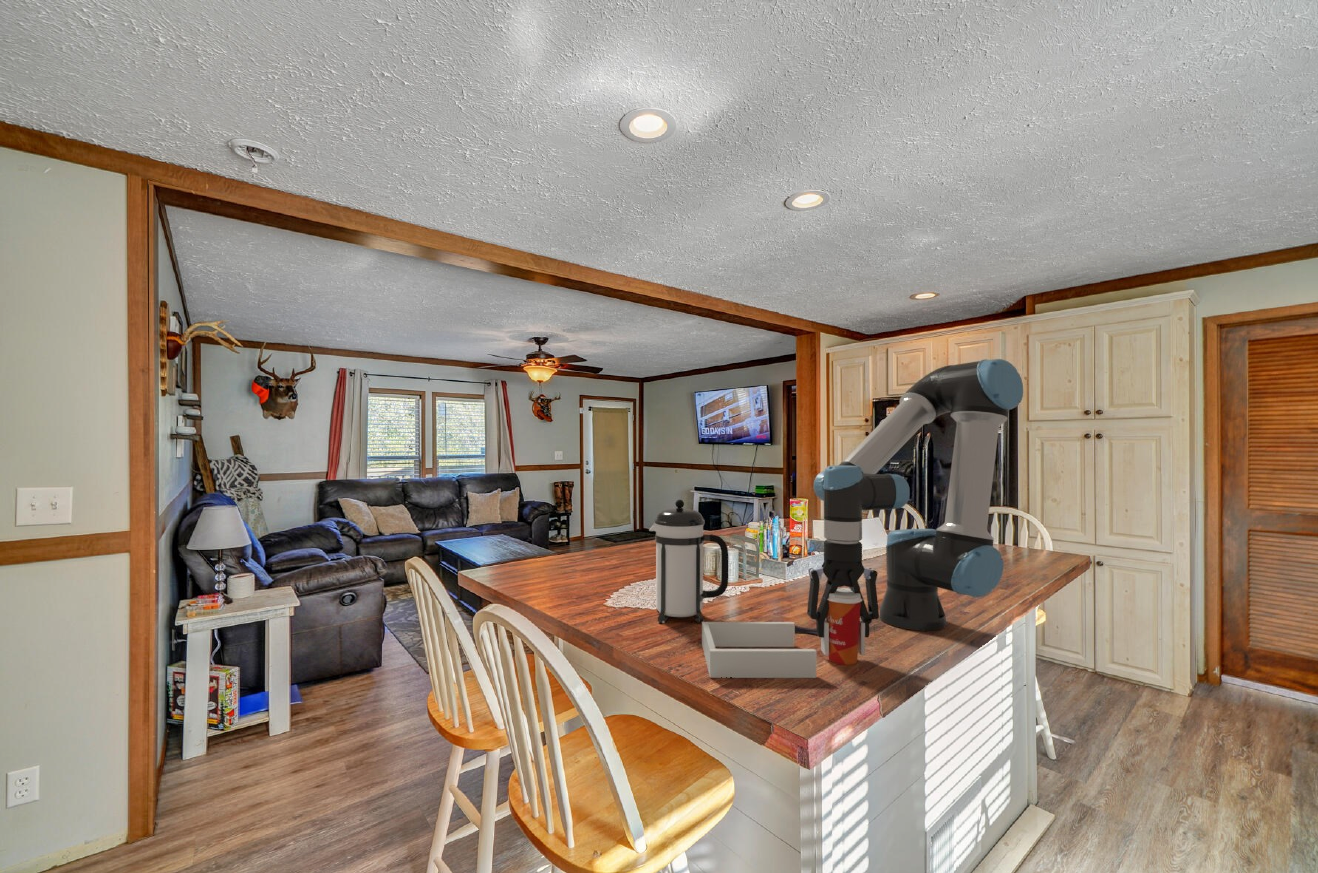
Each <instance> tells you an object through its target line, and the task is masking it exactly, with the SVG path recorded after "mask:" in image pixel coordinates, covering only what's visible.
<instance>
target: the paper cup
mask: <svg viewBox="0 0 1318 873" xmlns="http://www.w3.org/2000/svg"><path fill="white" fill-rule="evenodd" d="M827 600H829V610H828V613H827V616H826V619H825V620H826V621H827V622H828V623H829V655H827V656H828V660H829V661H830V662H831V663H834V664H837V665H840V666H841V665H842V666H853V665H855V664H857V662H858V655H859V652H858V641H859V624H860V619H861V617H860V607H861V601H862V599H861V596H860V593H854V592H853V591H851V589H850V588H849V587H847V588H846V587H838V588H837V591H836V592H835V593H830V594H829V599H827Z"/></svg>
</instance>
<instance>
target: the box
mask: <svg viewBox="0 0 1318 873" xmlns="http://www.w3.org/2000/svg"><path fill="white" fill-rule="evenodd" d="M795 624H796V623H795V622H794V621H783V622H782V621H703V622H701V646H702V649H703V654H704V658H705V663H706V667H707V670H708V675H709V678H710V679H719V678H720V679H723V678H724V679H728V678H729V679H731V678H730V677H732V679H742V678H743V679H746V678H747V679H765V678H766V679H774V678H775V679H776V678H777V679H805V678H806V679H808V678H809V679H816V678H817V650H816V649H815V648H794V647H795V644H796V643H795V641H796V640H795V639H796V638H795V637H796V636H795V634H796V632H795V626H796V625H795ZM716 647H719V648H716ZM723 647H729V648H723ZM730 647H731V648H730ZM733 647H734V648H733ZM735 647H736V648H735ZM738 647H740V648H738ZM742 647H743V648H742ZM745 647H746V648H745ZM747 647H748V648H747ZM749 647H750V648H749ZM751 647H754V648H751ZM756 647H757V648H756ZM759 647H761V648H759ZM762 647H764V648H762ZM768 647H770V648H768ZM772 647H775V648H772ZM782 647H783V648H782ZM789 647H790V648H789ZM721 677H722V678H721ZM726 677H727V678H726Z"/></svg>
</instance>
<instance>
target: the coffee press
mask: <svg viewBox="0 0 1318 873" xmlns="http://www.w3.org/2000/svg"><path fill="white" fill-rule="evenodd" d="M674 504H675V507H676V508H669V509H668V508H667V509H665V510H662V511H660V512H659V513H658V514H657V516H656V518H655V519H654V523H653V524H652V525H651V527H650V528H649V530H648V531H649V532H655V535H654V536H655V538H654V540H655V543H656V544H655V545H656V546H655V548H656V549H655V558H656V559H655V564H656V565H655V606H656V607H655V608H656V611H657V612H658V613H659V615H658V616H657V623H660V624H665V623H666V622H667V619H668V618H670V617H672V618H687V617H691V618H693V619H694V621H695V622H696V624H702V622H705V620H704V616H703V614H702V610H703V605H704V604H703V603H704V599H711V598H713V599H714V598H717V597H720V596H722V595H723V594H724V593H726V590H727V588H728V585H729V548H728V545H727V543H726V542H725V540H724V539H723V538H722V537H721V536H719V535H717V534H714V533H713V534H712V533H711V534H704V525H705V523H706V522H705V519H704V517H703V516H702V514H701V513H700V512H699V511H698V510H695V509H689V508H683V507H684V505H685V501H683V500H682V499H677V500H676V501H675V503H674ZM704 542H713V543H716V544H717V545H718V546H719V548H720V551H721V552H720V554H721V555H720V556H721V557H720V558H721V559H720V560H721V561H720V562H721V563H720V564H721V565H720V571H721V572H720V573H721V575H720V584H719V587H717V588H716V589H712V590H705V589H704V587H703V586H704V581H703V580H704Z"/></svg>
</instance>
